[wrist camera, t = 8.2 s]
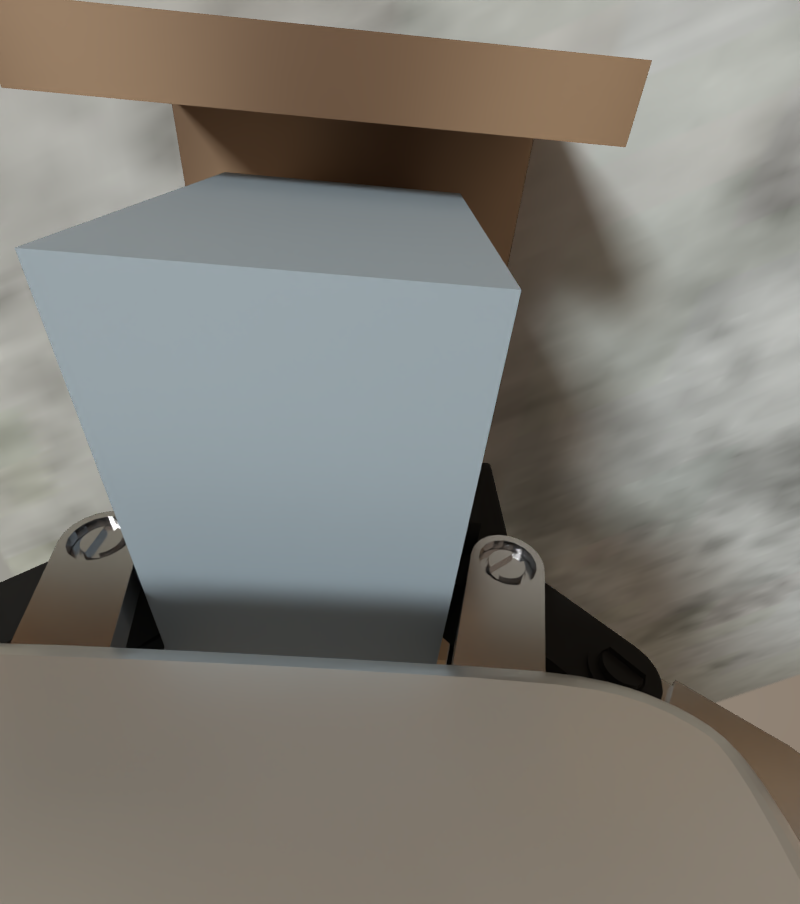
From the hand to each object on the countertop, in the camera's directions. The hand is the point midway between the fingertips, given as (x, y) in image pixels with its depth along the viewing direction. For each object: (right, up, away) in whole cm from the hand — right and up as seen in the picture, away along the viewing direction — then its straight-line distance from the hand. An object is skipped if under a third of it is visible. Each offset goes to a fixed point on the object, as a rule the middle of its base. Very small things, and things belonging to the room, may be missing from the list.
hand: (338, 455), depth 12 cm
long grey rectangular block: (0, 0, +1) cm, 1 cm away
